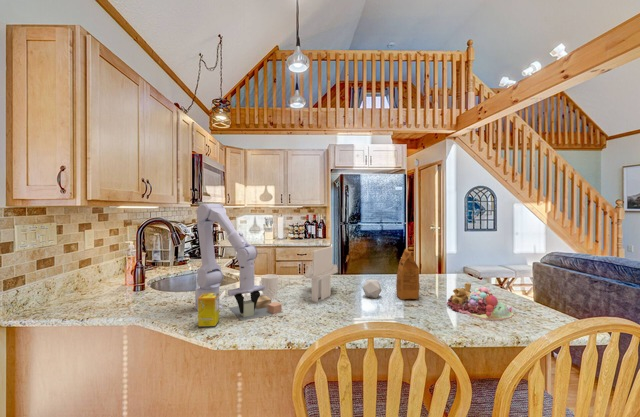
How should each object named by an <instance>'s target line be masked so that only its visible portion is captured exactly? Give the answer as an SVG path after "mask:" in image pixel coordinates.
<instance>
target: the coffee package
mask: <svg viewBox="0 0 640 417" xmlns="http://www.w3.org/2000/svg"><path fill="white" fill-rule="evenodd" d="M414 255H415V254H414V252H411V251H410V250H408V249H407V248H404V250H403V253H402V255H401V258H400V260H399V262H398V263H399V264H398V268H397V272H396V284H395V285H396V287H395V288H396V295H397V297H398V298H399V299H400V300H403V301H404V300H416V299H419V297H420V296H419V295H420V294H419V293H420V289H421V288H420V287H421V285H420V268H419V266H418V264H417V262H416V261H415V260H414V257H413V256H414Z"/></svg>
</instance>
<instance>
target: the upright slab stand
mask: <svg viewBox="0 0 640 417" xmlns="http://www.w3.org/2000/svg"><path fill="white" fill-rule="evenodd" d="M311 262H312V264H308V266H307V269H306V271H305V274H304V276H305V278H306V279H311V302H314V303H318V302H319V299H320V301H323V300H324V299H326V298H328V297H330V296H331V293H332V292H331V291H332V290H331V288H332V286H331V285H332V284H331V283H332V282H331V281H332V280H331V278H332V277H331V276H332V275H334V274H336V273H338V271H339V270H338V268H339V267H338V264H333V244H332V243H331V245H330V246H327V247H323V248H318V249H315V250H312V260H311Z"/></svg>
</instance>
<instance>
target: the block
mask: <svg viewBox="0 0 640 417" xmlns="http://www.w3.org/2000/svg"><path fill="white" fill-rule="evenodd" d="M281 311H282V303H280V302H277V301H274V302H271V303H270V304H267V312H270V313H272V315H276V314H275V313H277V314H279V313H278V312H281Z"/></svg>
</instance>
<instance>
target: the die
mask: <svg viewBox="0 0 640 417" xmlns="http://www.w3.org/2000/svg"><path fill="white" fill-rule="evenodd" d="M361 288H362V290H363V293H364V295H365V297H366V298H370V299H377V298H378V297H379V295H380V294H381V292H382V288H381V285H380V282H379V280H378V279H377V280H376V279H366V281H365V283H364V284H363V286H362V287H361Z"/></svg>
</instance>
